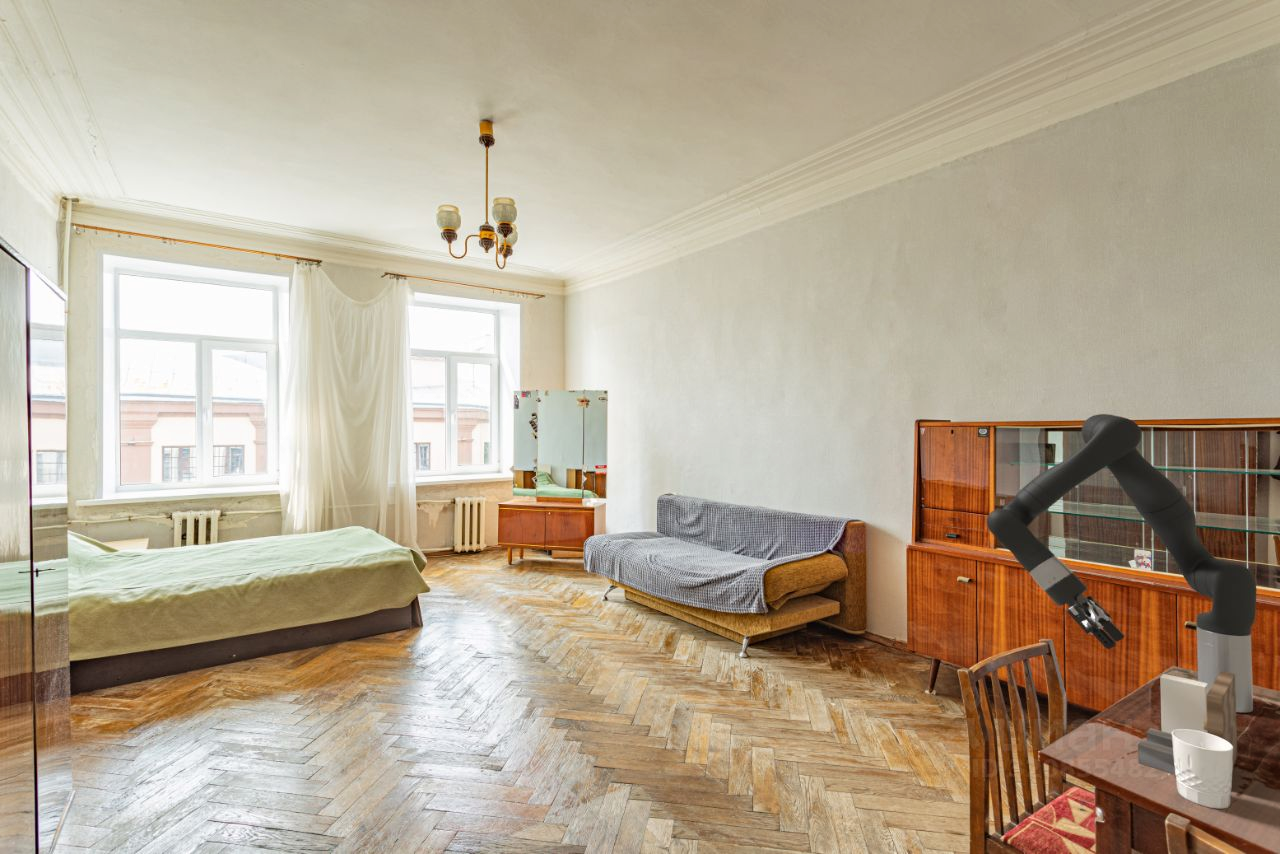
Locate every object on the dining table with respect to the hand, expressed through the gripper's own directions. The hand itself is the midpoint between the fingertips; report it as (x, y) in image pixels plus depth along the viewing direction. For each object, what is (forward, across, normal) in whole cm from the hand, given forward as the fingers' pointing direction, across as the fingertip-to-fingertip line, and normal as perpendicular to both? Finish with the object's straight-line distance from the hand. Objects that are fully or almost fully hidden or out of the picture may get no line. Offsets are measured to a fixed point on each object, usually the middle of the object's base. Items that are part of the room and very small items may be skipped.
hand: (1116, 643), depth 136 cm
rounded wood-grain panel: (+21, -10, +3) cm, 24 cm away
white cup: (+24, -24, +1) cm, 34 cm away
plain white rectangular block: (+20, +1, +4) cm, 20 cm away
